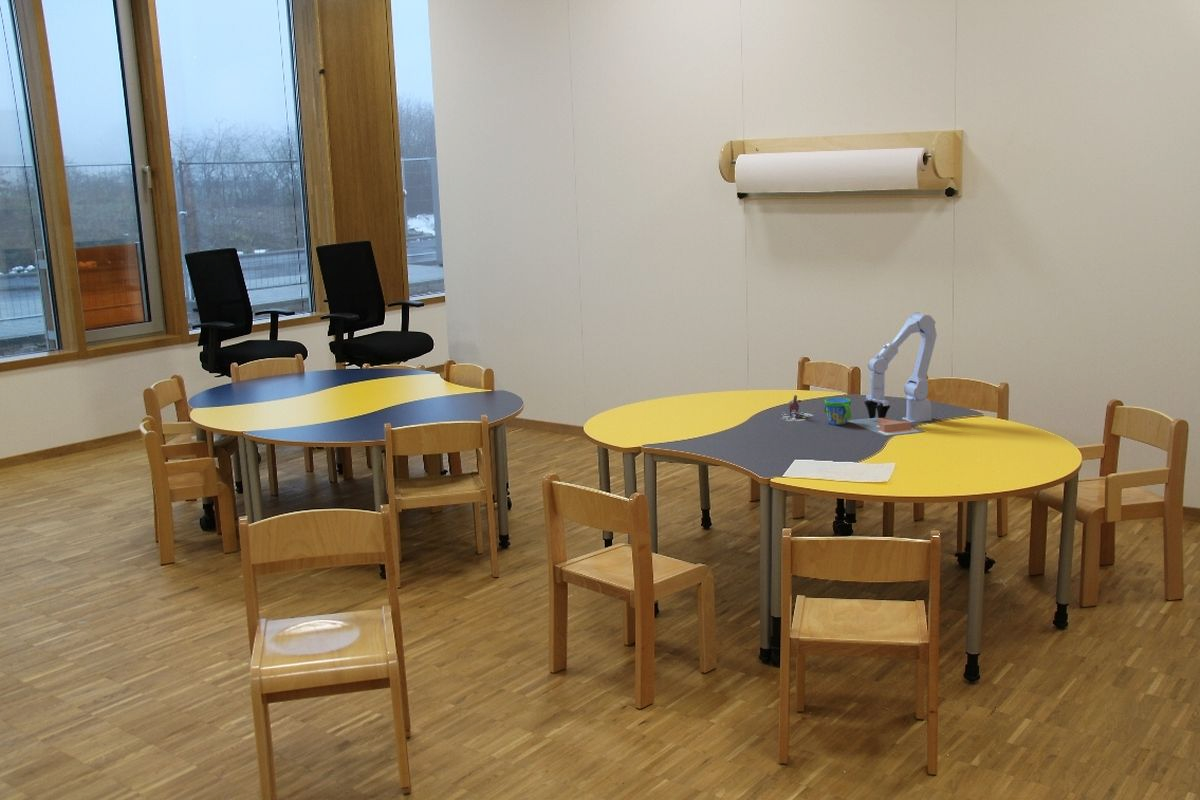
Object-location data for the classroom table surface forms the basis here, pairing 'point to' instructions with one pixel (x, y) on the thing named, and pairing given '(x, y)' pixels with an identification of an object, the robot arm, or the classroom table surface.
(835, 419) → the snack cup
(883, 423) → the t block
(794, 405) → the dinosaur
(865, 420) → the t board
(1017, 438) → the classroom table surface
